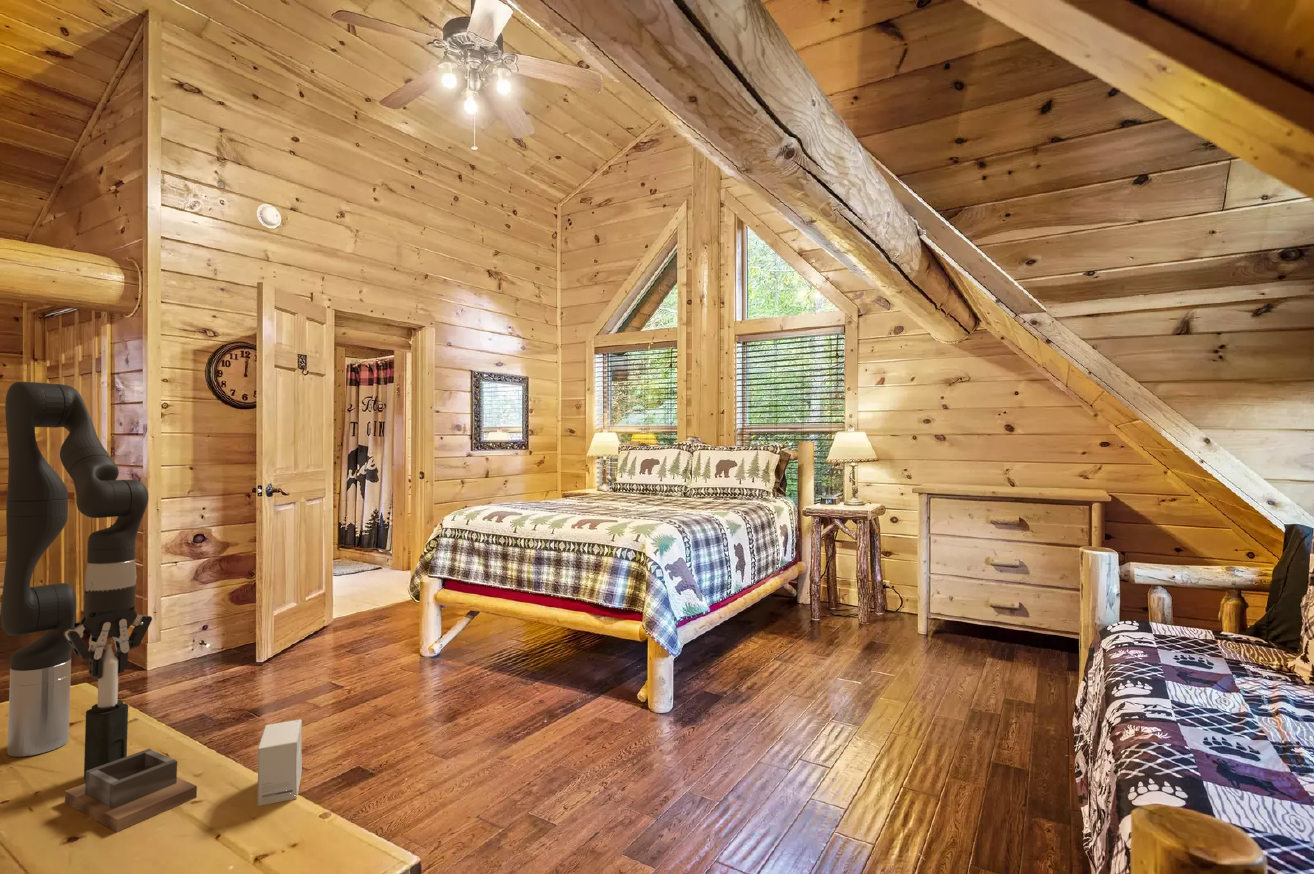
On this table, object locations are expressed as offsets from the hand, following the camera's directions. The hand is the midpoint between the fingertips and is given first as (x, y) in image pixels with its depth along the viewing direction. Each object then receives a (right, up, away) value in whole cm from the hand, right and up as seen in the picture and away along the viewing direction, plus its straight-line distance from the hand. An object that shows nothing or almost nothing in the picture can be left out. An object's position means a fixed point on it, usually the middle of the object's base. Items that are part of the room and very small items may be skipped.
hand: (108, 674), depth 124 cm
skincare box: (+35, -20, -4) cm, 40 cm away
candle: (0, -19, 0) cm, 19 cm away
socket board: (+11, -19, -8) cm, 24 cm away
